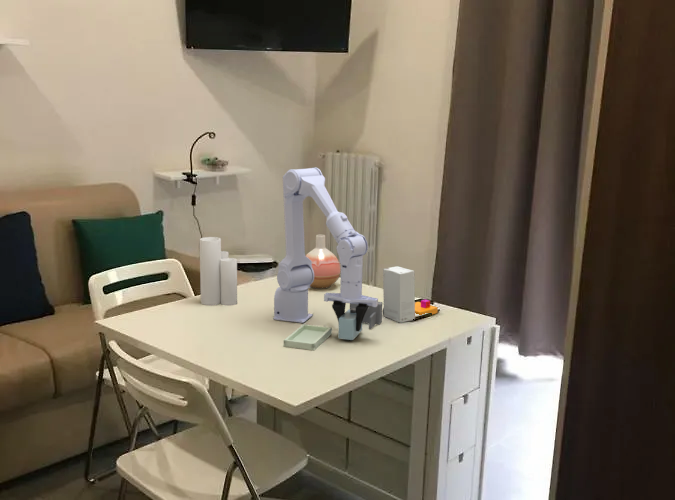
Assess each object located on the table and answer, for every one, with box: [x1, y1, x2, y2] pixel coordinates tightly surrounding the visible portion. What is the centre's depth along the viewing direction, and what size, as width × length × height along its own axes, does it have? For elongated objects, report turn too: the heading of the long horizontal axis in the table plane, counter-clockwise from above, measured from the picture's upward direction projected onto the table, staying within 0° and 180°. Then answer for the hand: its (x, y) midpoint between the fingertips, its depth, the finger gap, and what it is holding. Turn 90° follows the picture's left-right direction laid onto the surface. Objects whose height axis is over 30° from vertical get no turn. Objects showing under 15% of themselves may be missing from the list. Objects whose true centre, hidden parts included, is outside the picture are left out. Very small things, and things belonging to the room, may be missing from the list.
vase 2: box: [305, 234, 341, 290], centre depth 256 cm, size 14×14×18 cm
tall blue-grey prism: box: [337, 308, 363, 341], centre depth 206 cm, size 4×9×6 cm, turn 162°
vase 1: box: [199, 236, 238, 306], centre depth 235 cm, size 11×7×20 cm, turn 93°
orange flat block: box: [415, 299, 439, 315], centre depth 230 cm, size 8×8×4 cm
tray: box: [283, 323, 333, 351], centre depth 204 cm, size 8×14×2 cm, turn 162°
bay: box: [349, 301, 383, 330], centre depth 217 cm, size 9×8×6 cm
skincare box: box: [382, 265, 416, 324], centre depth 223 cm, size 8×6×15 cm
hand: (350, 329), depth 206 cm, fingers closed on tall blue-grey prism, 4 cm apart
